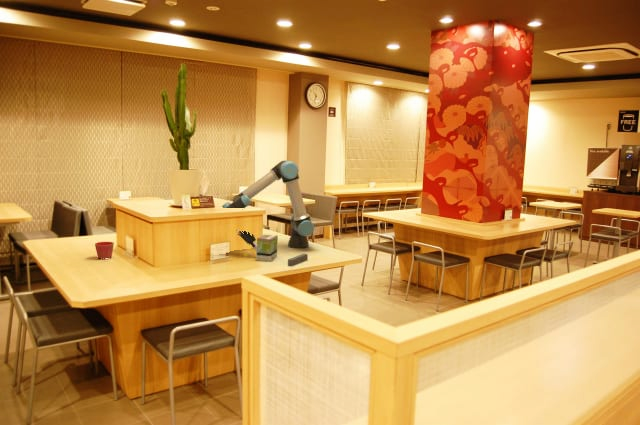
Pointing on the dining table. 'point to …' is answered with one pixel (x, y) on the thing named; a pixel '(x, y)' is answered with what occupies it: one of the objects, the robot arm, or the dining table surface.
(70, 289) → the dining table surface
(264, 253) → the tea box
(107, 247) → the flower pot
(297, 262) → the rail
